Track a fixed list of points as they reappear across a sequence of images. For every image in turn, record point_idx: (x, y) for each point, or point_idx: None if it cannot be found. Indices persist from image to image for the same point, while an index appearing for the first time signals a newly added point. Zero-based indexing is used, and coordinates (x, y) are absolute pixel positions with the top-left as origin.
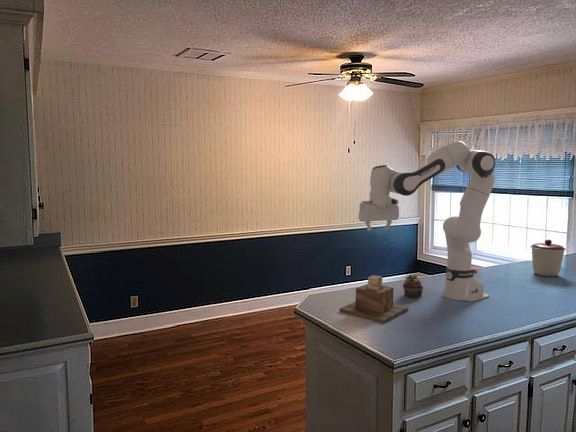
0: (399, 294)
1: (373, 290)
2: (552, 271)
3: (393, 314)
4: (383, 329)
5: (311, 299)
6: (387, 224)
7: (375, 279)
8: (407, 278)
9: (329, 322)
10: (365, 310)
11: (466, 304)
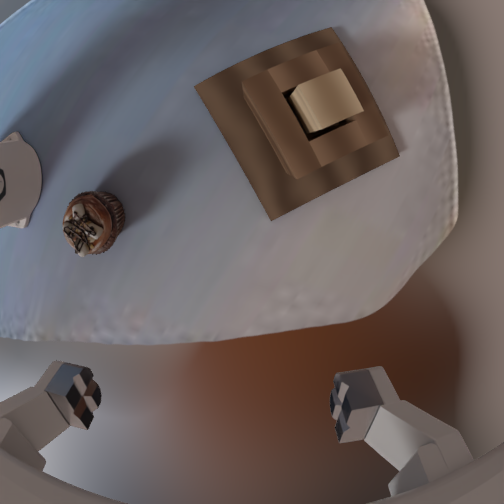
0: (133, 241)
1: None
2: None
3: (281, 46)
4: (350, 8)
5: (400, 280)
6: (48, 423)
7: (343, 77)
8: (95, 231)
9: (442, 104)
10: None
11: (33, 114)
